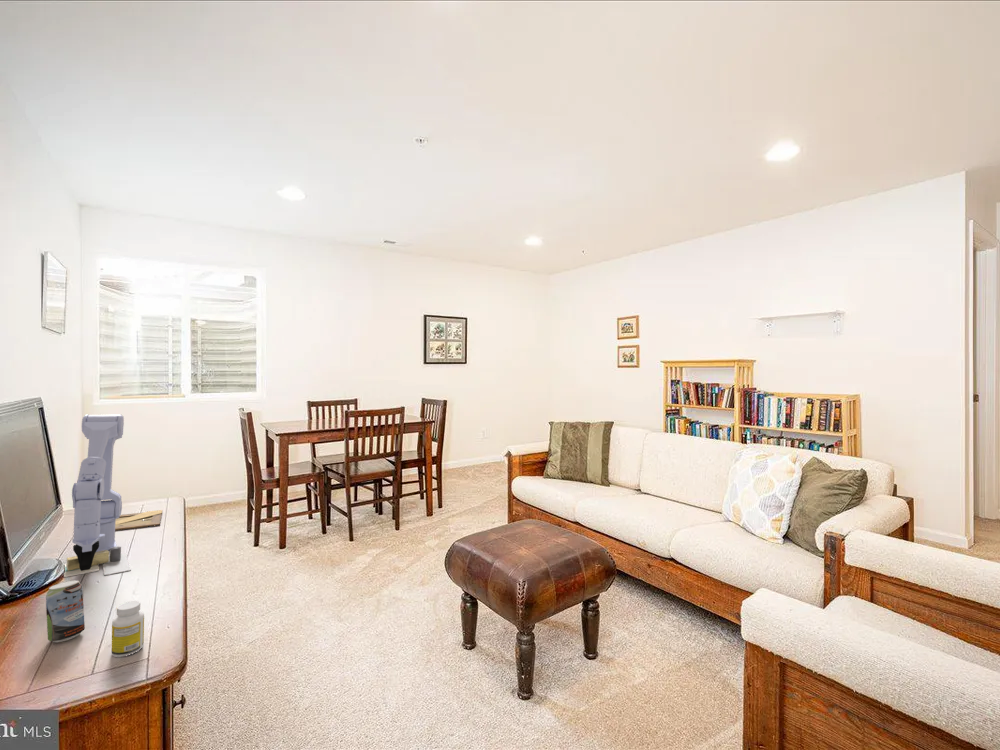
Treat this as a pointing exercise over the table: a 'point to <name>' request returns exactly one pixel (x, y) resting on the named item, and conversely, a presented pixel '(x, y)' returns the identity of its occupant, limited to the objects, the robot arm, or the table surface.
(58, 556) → the table surface
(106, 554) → the bar
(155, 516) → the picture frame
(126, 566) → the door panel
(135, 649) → the supplement bottle
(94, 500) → the robot arm
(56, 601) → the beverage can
